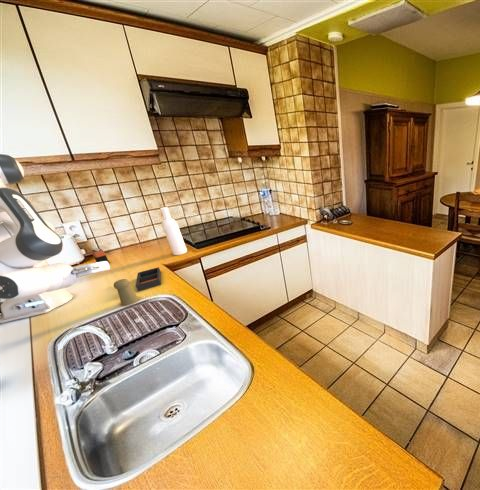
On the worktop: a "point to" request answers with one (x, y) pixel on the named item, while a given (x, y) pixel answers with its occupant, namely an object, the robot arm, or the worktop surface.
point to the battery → (99, 255)
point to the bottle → (173, 233)
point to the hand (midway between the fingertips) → (92, 269)
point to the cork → (125, 292)
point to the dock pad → (148, 279)
